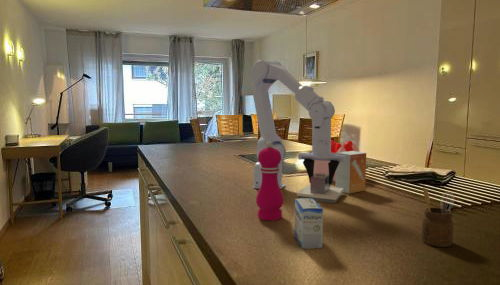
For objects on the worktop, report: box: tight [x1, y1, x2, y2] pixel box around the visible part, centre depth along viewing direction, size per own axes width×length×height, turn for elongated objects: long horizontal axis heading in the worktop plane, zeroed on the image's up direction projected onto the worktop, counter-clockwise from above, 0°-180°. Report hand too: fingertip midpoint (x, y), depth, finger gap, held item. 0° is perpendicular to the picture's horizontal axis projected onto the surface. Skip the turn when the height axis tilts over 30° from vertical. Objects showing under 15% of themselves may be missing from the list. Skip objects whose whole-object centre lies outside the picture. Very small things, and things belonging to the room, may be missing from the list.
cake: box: [314, 139, 360, 183], centre depth 143 cm, size 20×20×14 cm
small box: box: [335, 151, 367, 194], centre depth 121 cm, size 8×6×13 cm
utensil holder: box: [421, 186, 455, 248], centre depth 76 cm, size 6×6×12 cm
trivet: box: [296, 184, 344, 204], centre depth 114 cm, size 12×12×2 cm
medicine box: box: [293, 198, 324, 250], centre depth 77 cm, size 8×4×9 cm, turn 5°
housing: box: [309, 173, 331, 194], centre depth 113 cm, size 4×7×6 cm, turn 154°
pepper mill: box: [255, 142, 285, 222], centre depth 94 cm, size 7×7×20 cm
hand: (320, 183), depth 114 cm, fingers open, 5 cm apart
